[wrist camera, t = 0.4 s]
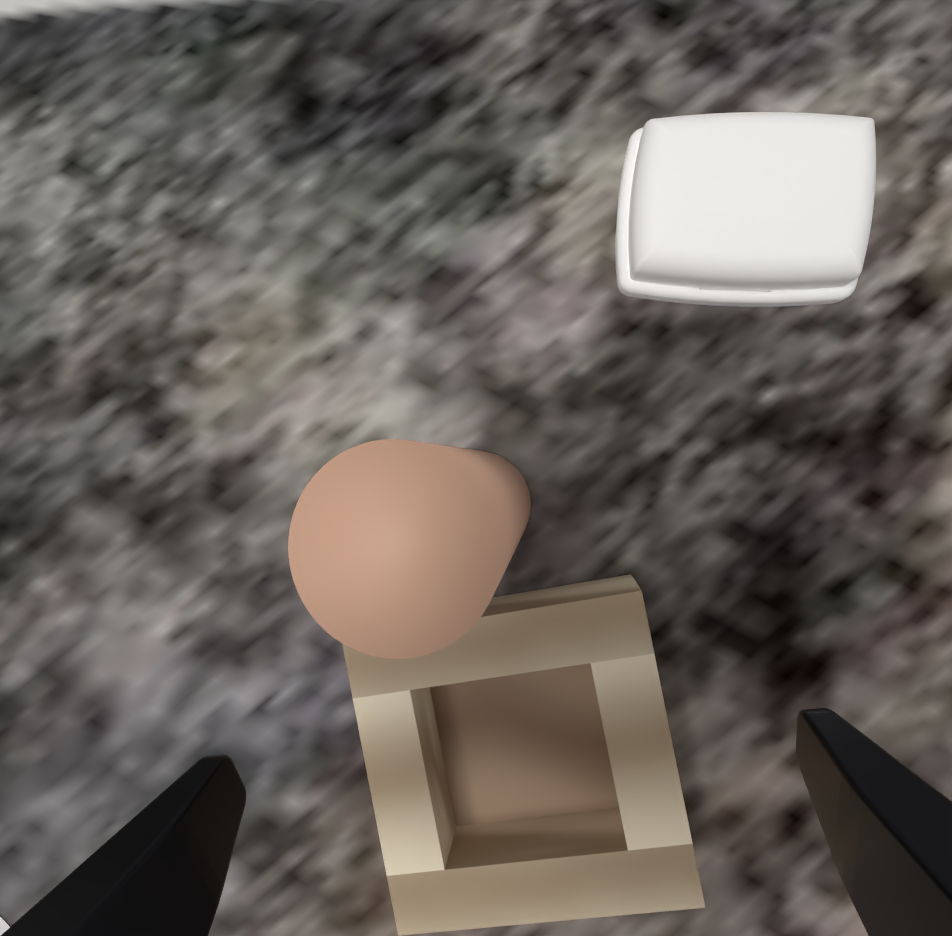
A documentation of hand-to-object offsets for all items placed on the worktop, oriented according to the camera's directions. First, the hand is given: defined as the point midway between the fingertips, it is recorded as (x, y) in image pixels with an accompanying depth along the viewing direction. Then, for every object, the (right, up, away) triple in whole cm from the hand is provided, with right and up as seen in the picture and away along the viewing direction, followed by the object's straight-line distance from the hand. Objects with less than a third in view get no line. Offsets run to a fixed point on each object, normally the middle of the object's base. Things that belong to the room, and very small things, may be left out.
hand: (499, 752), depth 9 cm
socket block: (+1, -6, +15) cm, 16 cm away
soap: (+10, +14, +14) cm, 22 cm away
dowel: (0, +3, +15) cm, 15 cm away
